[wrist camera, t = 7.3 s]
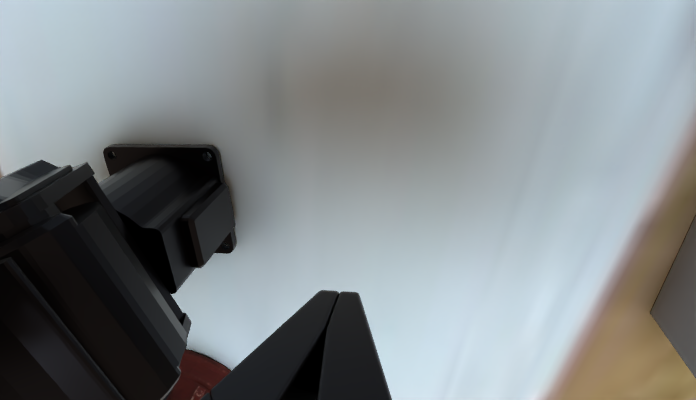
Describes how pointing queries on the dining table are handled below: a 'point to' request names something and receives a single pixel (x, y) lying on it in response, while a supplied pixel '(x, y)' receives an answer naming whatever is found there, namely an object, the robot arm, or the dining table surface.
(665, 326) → the console
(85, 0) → the dining table surface
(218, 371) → the lantern
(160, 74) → the dining table surface
